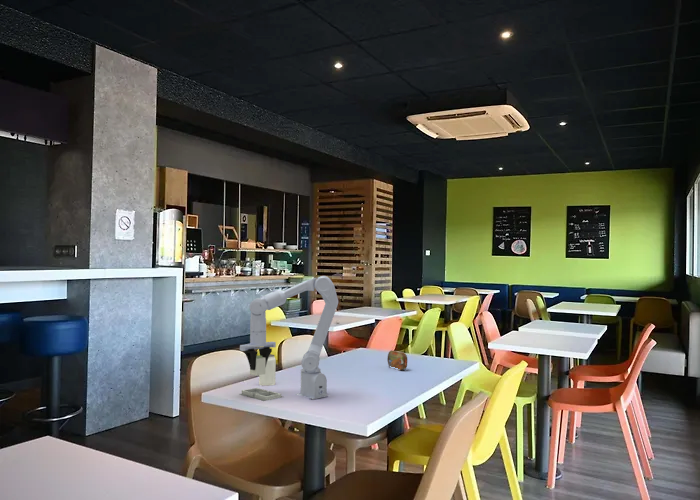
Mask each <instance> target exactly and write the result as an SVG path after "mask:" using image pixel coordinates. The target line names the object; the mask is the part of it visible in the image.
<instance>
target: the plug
mask: <svg viewBox="0 0 700 500" xmlns="http://www.w3.org/2000/svg"><path fill="white" fill-rule="evenodd" d="M264 374H265V357H262V356H261V355H260V354H259V355H257V356H256V367H255V370H250V369H249V375H252V376H255V377H257V376H259V375H264Z"/></svg>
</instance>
